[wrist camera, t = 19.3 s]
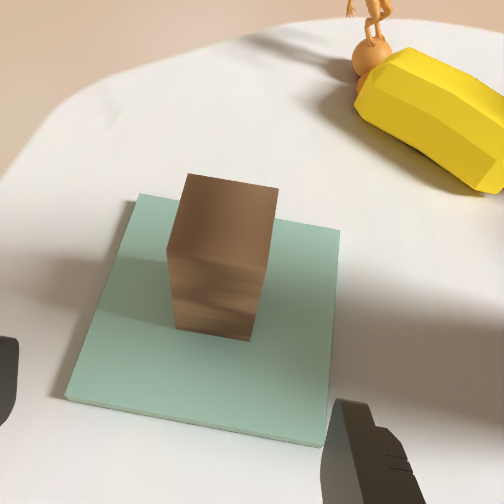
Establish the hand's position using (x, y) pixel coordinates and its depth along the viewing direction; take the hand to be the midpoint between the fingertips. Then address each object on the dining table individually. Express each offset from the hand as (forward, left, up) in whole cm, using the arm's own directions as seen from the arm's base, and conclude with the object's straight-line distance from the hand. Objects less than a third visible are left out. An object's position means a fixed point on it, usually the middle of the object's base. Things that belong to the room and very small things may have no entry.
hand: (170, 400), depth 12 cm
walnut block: (+1, -11, -18) cm, 21 cm away
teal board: (+1, -11, -19) cm, 22 cm away
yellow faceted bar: (-16, -33, -19) cm, 41 cm away
